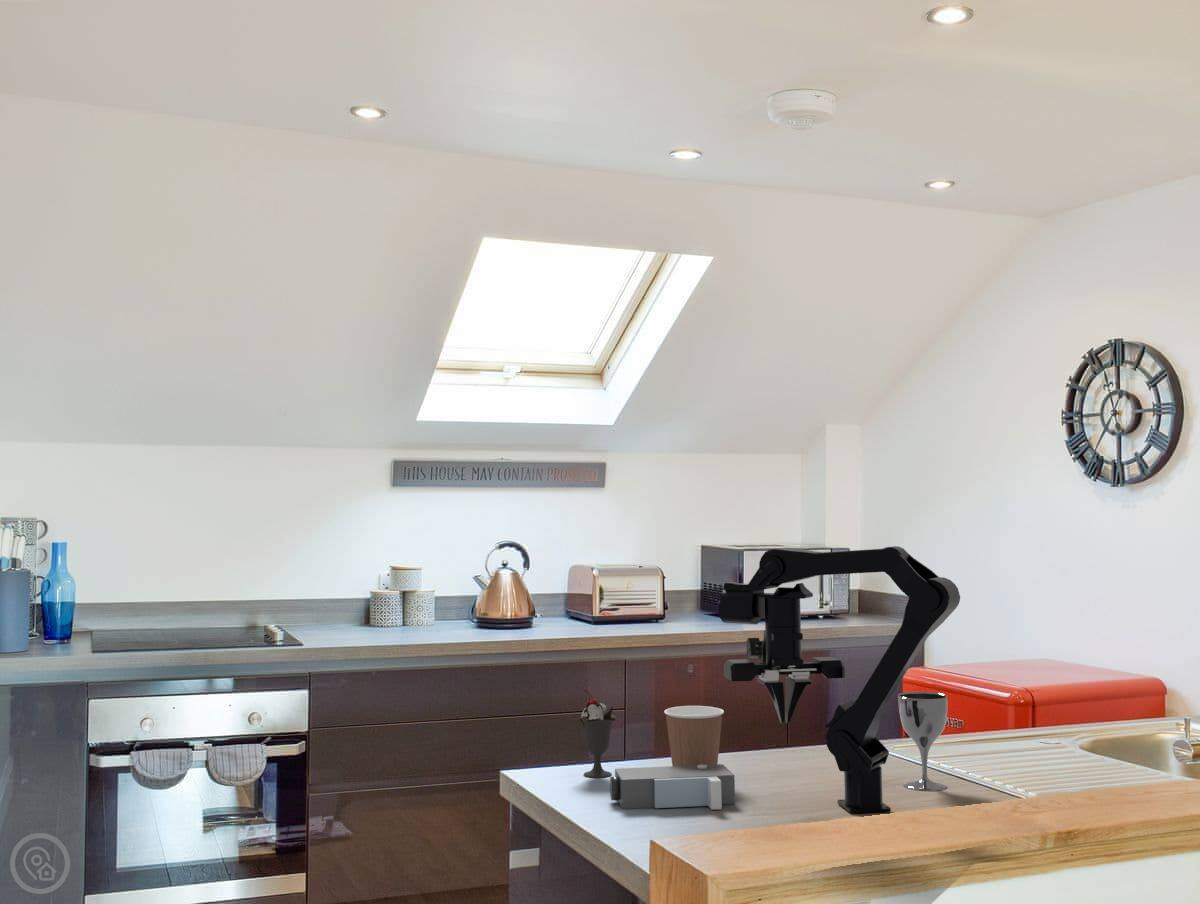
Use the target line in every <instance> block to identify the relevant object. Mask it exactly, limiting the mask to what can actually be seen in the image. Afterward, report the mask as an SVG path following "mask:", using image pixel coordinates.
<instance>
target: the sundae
mask: <svg viewBox="0 0 1200 904" xmlns="http://www.w3.org/2000/svg"><path fill="white" fill-rule="evenodd" d="M583 691H584V692H585V693H586V694H588V701H587V700H586V702H585V706H586V707H585V708H584V709H583V710H582V712H581V714H580V717H578V720H579V721H580V722H581V724H582V729H583V738H584V743H585V747H586V749H587V750H588V752H590V753H591V754H592V755H593V767H592V769H591V770H589V771H586V772H584V773H583V776H584V777H585V778H590V779H591V778H592V779H603V778H609V777H612V773H611V772H610V771H608V770H607V771H606V770H605V769H603V767H602V762H601V760H602V759H601V758H602V755H603V754H604V753H605V752H607V750H608V748H609V745H610V739H611V729H612V723H613V722H615V721H616V715H614V714H612V712H613V710H614V707H613V706H611V707H609V709H607V705H605V704H604V703H603V702H601V701H599V700H597V699H596V698H594V697H593V695H592V694H591V692H590V691H589V690H588V688H587V689H584V690H583ZM591 698H592V699H591Z"/></svg>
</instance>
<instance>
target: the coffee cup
mask: <svg viewBox="0 0 1200 904" xmlns="http://www.w3.org/2000/svg"><path fill="white" fill-rule="evenodd" d="M724 712H725V711H724V709H722V708H719V707H714V706H708V705H706V706H705V705H681V706H674V707H668V708H667V709H665V710H664V712H663V713H664V714H665V716H666V717H665V719H666V726H667V734H668V743H669V748H670V749H669V750H670V758H671V765H672V766H691V765H699V764H705V765H716V764H719V762H718V761H719V754H720V753H719V751H720V744H721V743H720V741H721V733H722V732H721V731H722V720H723V716H722V715H723V714H724Z"/></svg>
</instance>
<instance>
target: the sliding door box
mask: <svg viewBox="0 0 1200 904" xmlns="http://www.w3.org/2000/svg"><path fill="white" fill-rule="evenodd" d="M714 776H717V777H718V778H719V779H720V780H721V804H722V805H731V804H732V805H735V804H736V792H735V791H736V790H735V788H736V787H735V786H736V785H735V783H736V781H735V774H734V773H733V772H732V771H731V770H730V769H729V768H728V767H727V766H725V765H724V764H722V763H720V764H719V763H718V764H716V765H705V764H699V765H691V766H670V765H669V766H668V765H667V766H646V767H626V768H625V767H623V768H621V767H620V768H614V776H609V777H610V778H609V797H610V800H611V801H617V802H618V804H619V805H620V807H621V809H622V810H626V809H630V810H631V809H649V808H655V807H654V779H667V778H690V777H714Z"/></svg>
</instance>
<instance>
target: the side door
mask: <svg viewBox="0 0 1200 904" xmlns="http://www.w3.org/2000/svg"><path fill="white" fill-rule="evenodd" d="M722 805H723V804H721V780H720V779H719V778H718V777H717V776H714V777H690V778H667V779H654V808H655V809H663V808H664V809H665V808H666V809H667V808H668V809H669V808H686V807H688V808H690V807H706V806H707V807H709V809H710V810H722V807H723V806H722Z"/></svg>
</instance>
